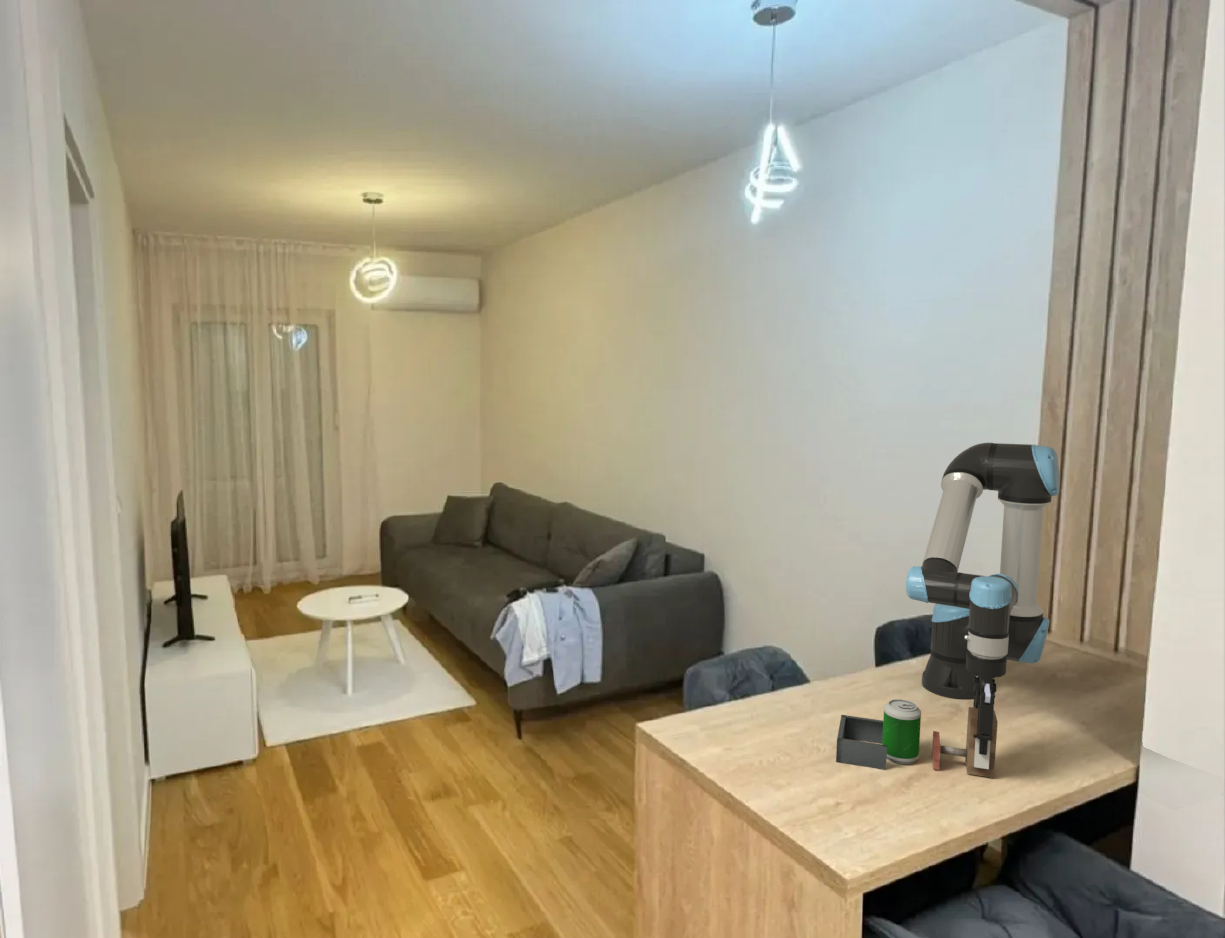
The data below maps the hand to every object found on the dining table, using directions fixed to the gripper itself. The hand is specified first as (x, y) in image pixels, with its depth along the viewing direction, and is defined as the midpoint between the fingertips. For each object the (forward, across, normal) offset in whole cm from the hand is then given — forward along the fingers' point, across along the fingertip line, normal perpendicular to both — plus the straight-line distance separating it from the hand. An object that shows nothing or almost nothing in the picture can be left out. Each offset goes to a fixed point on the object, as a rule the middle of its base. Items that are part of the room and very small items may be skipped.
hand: (979, 759), depth 169 cm
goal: (+2, 0, -23) cm, 24 cm away
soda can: (+3, 0, -16) cm, 16 cm away
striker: (+2, 0, -3) cm, 4 cm away
